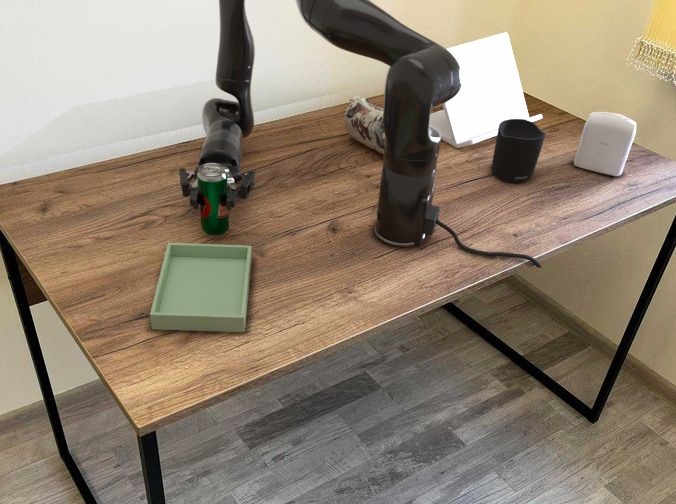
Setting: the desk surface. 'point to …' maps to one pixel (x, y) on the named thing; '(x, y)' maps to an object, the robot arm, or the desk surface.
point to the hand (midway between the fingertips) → (212, 205)
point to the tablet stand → (482, 93)
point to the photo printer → (605, 143)
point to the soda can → (213, 199)
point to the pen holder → (517, 150)
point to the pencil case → (365, 123)
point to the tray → (202, 288)
